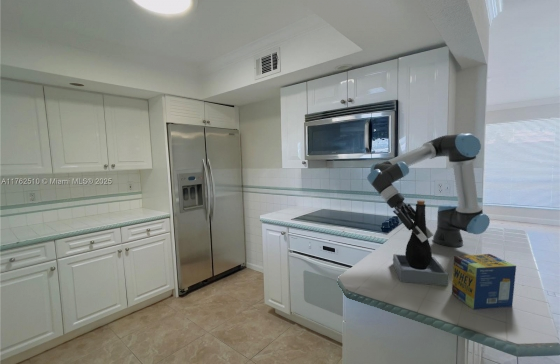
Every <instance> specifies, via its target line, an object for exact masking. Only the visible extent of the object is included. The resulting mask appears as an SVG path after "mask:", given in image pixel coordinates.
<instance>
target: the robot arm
mask: <svg viewBox="0 0 560 364" xmlns="http://www.w3.org/2000/svg"><path fill="white" fill-rule="evenodd" d="M481 149H482V144H481V141H480V139H479V137H477V136H476V135H474V134H472V133H457V134H447V135H446V134H445V135H442V136H439V137H436V138H434V139H432V140H430V141H426V142H424V143H423V144H422V146H420V147H416V148H414V149H412V150H410V151H408V152H404V153H403V154H400V155H398V156H396V157H393V158H390V159H389V160H386V161H384V162H380V163H378V162H377V163H374V164H372V165H371V167H370V172H369V173H368V175H367V181H368V182H369V184H370V185H371V186H372V187H373V188H374V190H375V191H377V193H378V194H379V195H380V196H381V199H383V200H384V201H385V202H386V204H387V206H388V207H390V208H391V209H393V208H394V210H392V212H393V213H394V214H395V215H396V217H397V218H398V219H399V220H400V221H401V223H402V224H403V225H404V227H405V228H406V229H407V230H408V231H411V232H412V231H413V232H414V233H415V234H416V236H417V237H418V238H419V239H420V240H421V241H422V242H424V241H425V240H427V239H428V240H429V239H430V238H432V237H433V239H432V241H433V243H436V244H437V245H441V246H447V247H453V248H454V247H462V246H464V240H463V237H462V234H461V231H464V232H467V233H468V234H473V235H481V234H483V233H485V232H486V230H488V227H489V226H490V217H489V215H487V213H486V214H485V213H484V212H483V211H484V210H483V207H482V206H480V205H479V202H478V200H479V199H478V194H477V185H476V177H475V170H474V161H475V160H476V159H477V155H479V154H480V151H481ZM437 157H440V158H441V157H448V162H449V163H451V164H452V165H453V167H452V168H453V172H454V173H453V175H454V180H455V187H456V188H455V189H456V195H457V202H458V204H440V205H438V208H437V216H436V217H437V219H436V220H437V221H436V224H437V226H436V230H435V232H434V233H432V231H431V230H430V229H429V228H428V226H426V231H427V237H428V238H427V237H426V236H425V235H424V234H423V232H422V231H421V230H420V229H419V228H418V227H417V226H416V227H415V224H414V219H415V211H416V209H414V208H413V207H412V205H411V204H410V203H408V204H407V203H405V202H404V201H405V197H404V196H403V195H402V194H401V193H400V192H399V190H398V189H397V188H396V187H395V186H394V185H393V184H394V183H395V182H397V181H399V180H401V179H402V178H405V177H406V176H407V175H409V173H410V169H409V167H411V166H413V165H416V164H418V163H421V162H423V161H425V160H428V159H430V160H431V159H435V158H437Z"/></svg>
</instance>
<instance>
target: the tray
mask: <svg viewBox="0 0 560 364" xmlns="http://www.w3.org/2000/svg"><path fill="white" fill-rule="evenodd" d="M392 255H393V258H392V264H393V267H394V268H395V269H396V270H395V271H396V274H397V277H398V279H399V282H404V283H411V284H423V285H433V286H434V285H435V286H443V287H445V286H446V287H448V286H449V273H448V271H446V270H445V269H444V267H443V266H442V265H441V264H440V262H439V261H438V260H437V259H436V258H435V256H432V259H431V262H430V264H429V265H428V266H427V269H425V270H418V269H414V268H411V267H410V266H409V263H408V262H407V260H406V256H405V254H397V253H394V254H392Z"/></svg>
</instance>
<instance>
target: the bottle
mask: <svg viewBox="0 0 560 364" xmlns="http://www.w3.org/2000/svg"><path fill="white" fill-rule="evenodd" d="M425 202H426V201H425V200H417V201H416V203H415V219H414V221H413V223H414V224H415V227H416V226H417V227H418V228H419V229H420V230H421V231H422V232H423V234H424V235H425V236H426V237H427V231H426V227H427V224H426V223H427V221H426V204H425ZM427 238H428V237H427ZM404 255H405V256H406V260H407V262H408V263H409V266H410V267H411V268H414V269H418V270H425V269H427V266H428V265H429V264H430V262H431V259H432V257H433V252H432V247H431V244H430V240H429V239H427V240H425V241H424V242H422V241H421V240H420V239H419V238H418V237H417V236H416V234H415V233H414V232H413V231H412V230H411V234H410V236H409V239H408V241H407V244H406V247H405V253H404Z"/></svg>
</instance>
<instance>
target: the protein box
mask: <svg viewBox="0 0 560 364" xmlns="http://www.w3.org/2000/svg"><path fill="white" fill-rule="evenodd" d="M452 271H453V272H452V284H451V285H452V286H451V294H452V295H454V297H456V298H457V299H458V300H460V301H461V302H463V303H464V304H466V305H467V307H470V308H471V309H472V310H481V309H482V310H483V309H484V310H485V309H496V308H498V309H499V308H511V307H513V303H514V302H513V301H514V292H515V281H516V272H517V265H516V264H513V263H511V262H509V261H506V260H505V259H501V258H499V257H497V256H495V255H493V254H490V253H488V254H487V253H485V254H468V255H467V254H466V255H454V256H453V270H452Z"/></svg>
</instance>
